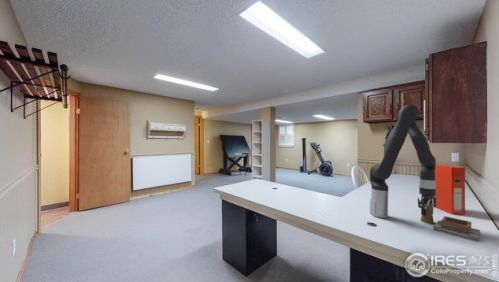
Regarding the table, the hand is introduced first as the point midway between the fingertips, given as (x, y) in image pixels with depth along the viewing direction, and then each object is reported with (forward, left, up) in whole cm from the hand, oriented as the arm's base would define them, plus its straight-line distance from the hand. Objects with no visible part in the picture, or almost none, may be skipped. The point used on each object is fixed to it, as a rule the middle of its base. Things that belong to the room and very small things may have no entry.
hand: (427, 214), depth 119 cm
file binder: (+31, +26, -5) cm, 41 cm away
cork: (0, 0, -5) cm, 5 cm away
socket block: (+6, -12, -4) cm, 14 cm away
